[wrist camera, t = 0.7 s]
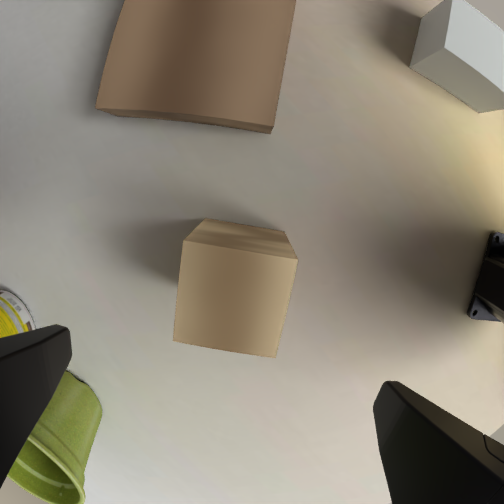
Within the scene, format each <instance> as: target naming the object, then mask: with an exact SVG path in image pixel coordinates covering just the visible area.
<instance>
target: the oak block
mask: <svg viewBox="0 0 504 504" xmlns="http://www.w3.org/2000/svg"><path fill="white" fill-rule="evenodd" d="M297 263H298V258H297V256H296V254H295V252H294V250H293V248H292V246H291V244H290V242H289V240H288V238H287V236H286V234H285V232H283V231H278V230H272V229H266V228H260V227H255V226H249V225H243V224H237V223H231V222H225V221H219V220H213V219H207V218H205V219H204V220H203V221H202V222H201V223H200V224H199V225H198V226H197V227H196V228H195V229H194V230H193V231H192V232H191V233H190V234H189V235H188V236H187V237H186V238H185V239H184V240H183V246H182V255H181V263H180V272H179V281H178V291H177V301H176V312H175V323H174V335H173V341H175V342H180V343H185V344H191V345H196V346H201V347H207V348H212V349H218V350H224V351H230V352H236V353H243V354H250V355H256V356H263V357H271V358H276V354H277V350H278V346H279V342H280V338H281V333H282V329H283V325H284V321H285V317H286V312H287V308H288V304H289V299H290V295H291V291H292V286H293V282H294V277H295V273H296V268H297Z"/></svg>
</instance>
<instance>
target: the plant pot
mask: <svg viewBox="0 0 504 504" xmlns="http://www.w3.org/2000/svg"><path fill="white" fill-rule="evenodd" d="M101 417H102V408H101V405H100V402H99V400H98V398H97V397H96V395H95V394H94V392H93V391H92V390H91V389H90V387H89V386H88V385H87V384H85V383H82V382H80V381H78V380H77V379H76V378H75V377H74V376H73V375H72V374H71V373H69V372H67V371H65V372H64V374H63V376H62V378H61V380H60V383H59V385H58V387H57V389H56V391H55V393H54V395H53V397H52V399H51V400H50V402H49V404H48V405H47V407H46V409H45V410H44V412H43V414H42V415H41V417H40V419H39V420H38V422H37V424H36V425H35V427H34V429H33V430H32V432H31V434H30V435H29V437H28V439H27V441H26V442H25V444H24V446H23V448H22V449H21V451H20V453H19V455H18V456H17V458H16V460H15V462H14V464H13V466H12V467H11V469H10V471H9V473H8V475H7V476H8V477H9V478H10V479H11V480H12V481H13V482H15V483H16V484H18V485H19V486H20V487H21V488H23V489H24V490H26V491H27V492H29V493H30V494H32V495H34V496H36V497H37V498H39V499H41V500H43V501H45V502H48V503H50V504H84V502H85V492H84V489H83V486H84V481H85V478H84V471H85V467H86V464H87V460H88V457H89V453H90V450H91V447H92V444H93V441H94V438H95V435H96V432H97V429H98V427H99V424H100V421H101Z"/></svg>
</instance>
